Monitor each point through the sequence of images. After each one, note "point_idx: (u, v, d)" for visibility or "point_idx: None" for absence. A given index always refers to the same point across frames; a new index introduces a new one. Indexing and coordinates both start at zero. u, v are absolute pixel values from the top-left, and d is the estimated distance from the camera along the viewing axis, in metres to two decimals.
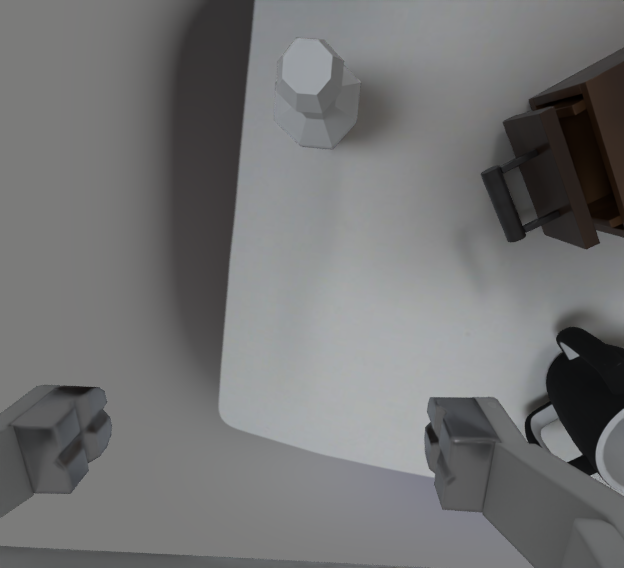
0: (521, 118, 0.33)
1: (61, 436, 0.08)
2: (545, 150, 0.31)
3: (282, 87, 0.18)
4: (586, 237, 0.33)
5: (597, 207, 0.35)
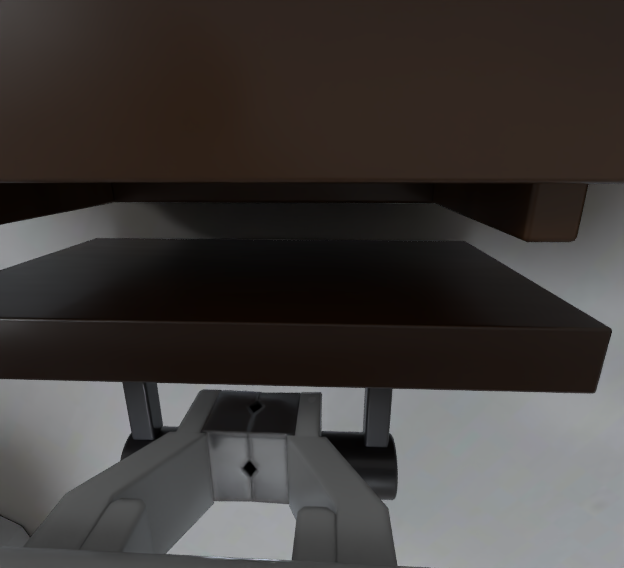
0: None
1: (249, 443, 0.08)
2: None
3: None
4: (535, 377, 0.06)
5: None
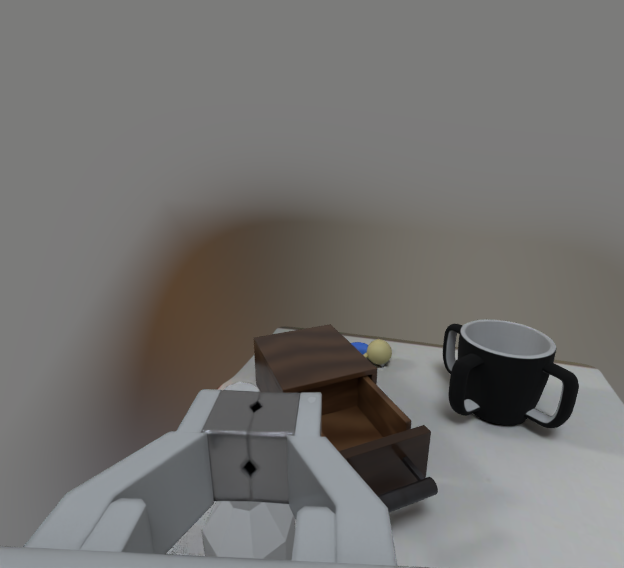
0: None
1: (249, 443, 0.08)
2: (355, 462, 0.38)
3: None
4: (421, 432, 0.41)
5: None
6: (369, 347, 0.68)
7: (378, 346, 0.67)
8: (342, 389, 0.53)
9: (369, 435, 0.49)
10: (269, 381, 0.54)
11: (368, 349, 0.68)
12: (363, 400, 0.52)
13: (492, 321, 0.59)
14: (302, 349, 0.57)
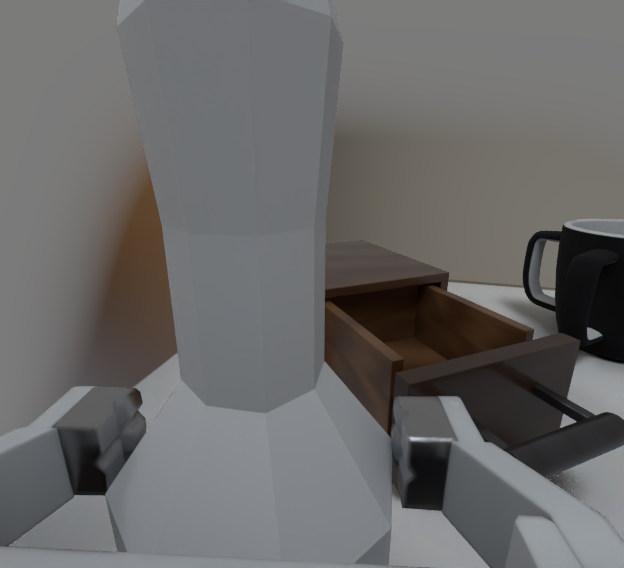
0: None
1: (103, 438, 0.08)
2: (457, 386, 0.20)
3: None
4: (564, 341, 0.23)
5: None
6: None
7: None
8: (394, 307, 0.34)
9: None
10: None
11: None
12: (427, 323, 0.34)
13: (603, 221, 0.40)
14: (328, 258, 0.38)
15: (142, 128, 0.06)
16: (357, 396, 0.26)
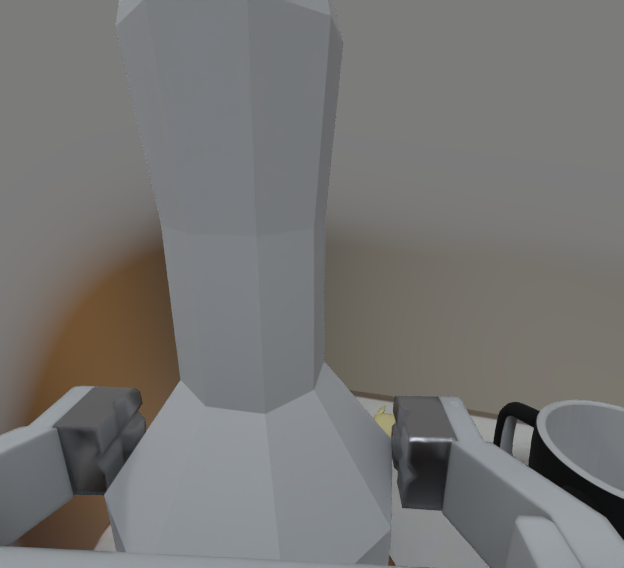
0: None
1: (103, 438, 0.08)
2: None
3: None
4: None
5: None
6: None
7: (385, 427, 0.43)
8: None
9: None
10: None
11: None
12: None
13: (584, 404, 0.34)
14: None
15: (141, 128, 0.06)
16: None
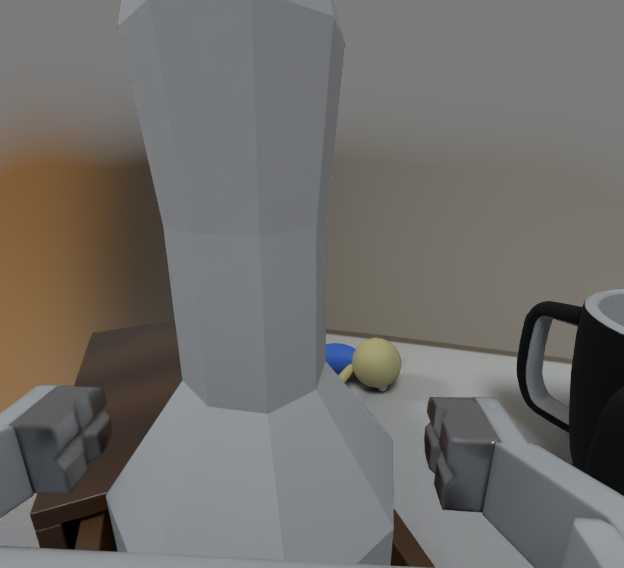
0: None
1: (61, 437, 0.08)
2: None
3: None
4: None
5: None
6: (356, 353, 0.34)
7: (374, 351, 0.33)
8: None
9: None
10: None
11: (354, 357, 0.34)
12: None
13: None
14: None
15: (143, 128, 0.06)
16: None
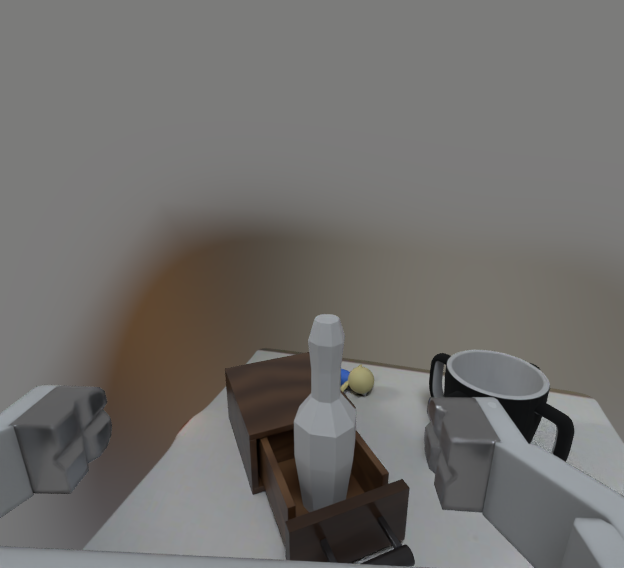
0: (290, 557, 0.33)
1: (61, 436, 0.08)
2: (322, 528, 0.34)
3: (333, 332, 0.34)
4: (398, 488, 0.37)
5: None
6: (350, 375, 0.64)
7: (359, 374, 0.63)
8: None
9: None
10: (238, 420, 0.49)
11: (349, 377, 0.64)
12: None
13: (481, 352, 0.54)
14: (275, 383, 0.52)
15: (310, 354, 0.36)
16: (277, 513, 0.40)
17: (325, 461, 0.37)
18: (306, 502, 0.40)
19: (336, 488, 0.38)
